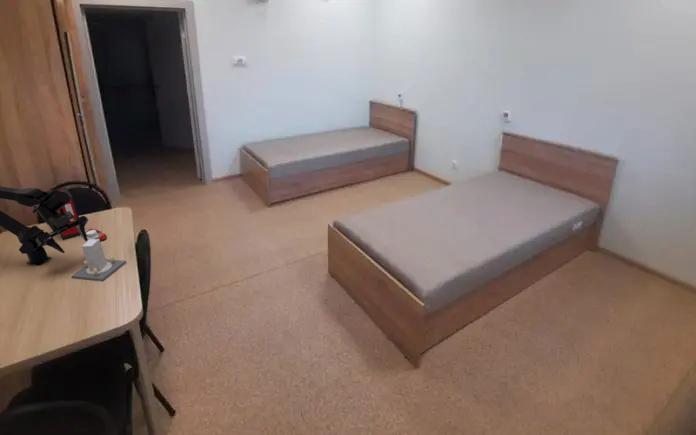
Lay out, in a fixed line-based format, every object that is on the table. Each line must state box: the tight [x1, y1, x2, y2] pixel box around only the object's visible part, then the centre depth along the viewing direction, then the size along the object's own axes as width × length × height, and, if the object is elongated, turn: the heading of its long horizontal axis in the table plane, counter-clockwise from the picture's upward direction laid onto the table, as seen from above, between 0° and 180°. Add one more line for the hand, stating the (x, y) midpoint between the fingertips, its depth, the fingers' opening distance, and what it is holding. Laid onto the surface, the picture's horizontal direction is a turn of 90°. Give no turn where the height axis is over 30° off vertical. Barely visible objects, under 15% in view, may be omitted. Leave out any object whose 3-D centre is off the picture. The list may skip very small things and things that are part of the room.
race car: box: [85, 228, 108, 242], centre depth 191 cm, size 13×5×4 cm, turn 61°
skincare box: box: [81, 239, 107, 272], centre depth 162 cm, size 6×4×12 cm
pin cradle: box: [70, 255, 127, 282], centre depth 164 cm, size 14×14×4 cm
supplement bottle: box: [86, 230, 102, 244], centre depth 180 cm, size 5×5×8 cm
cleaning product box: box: [45, 187, 81, 241], centre depth 193 cm, size 16×9×20 cm, turn 43°
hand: (75, 247), depth 163 cm, fingers open, 9 cm apart
